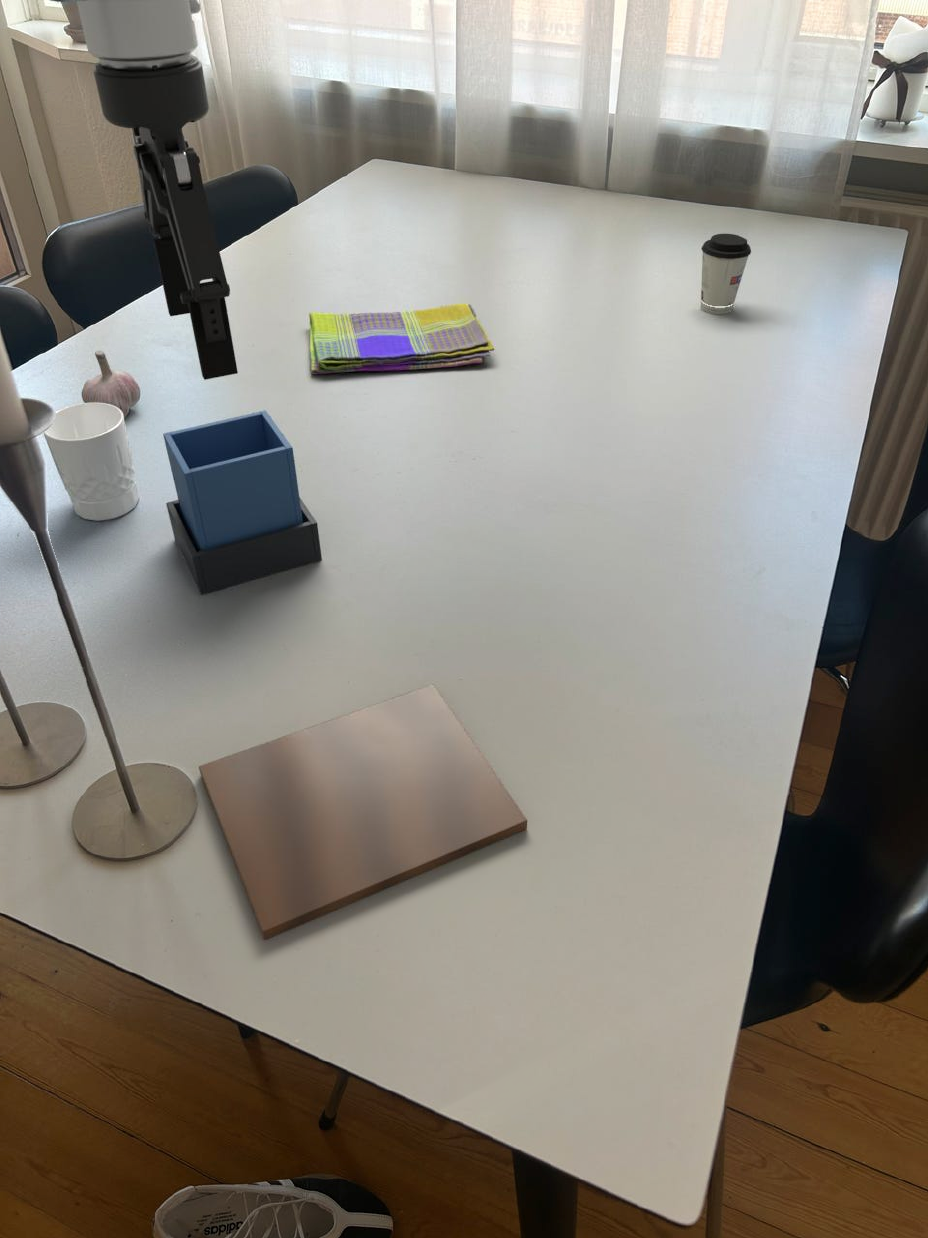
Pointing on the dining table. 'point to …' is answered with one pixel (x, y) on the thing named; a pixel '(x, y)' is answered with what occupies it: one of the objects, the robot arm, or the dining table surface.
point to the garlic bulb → (111, 387)
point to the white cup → (94, 460)
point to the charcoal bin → (247, 552)
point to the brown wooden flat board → (355, 807)
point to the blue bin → (234, 479)
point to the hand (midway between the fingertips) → (201, 342)
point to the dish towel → (397, 340)
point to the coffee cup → (722, 271)
